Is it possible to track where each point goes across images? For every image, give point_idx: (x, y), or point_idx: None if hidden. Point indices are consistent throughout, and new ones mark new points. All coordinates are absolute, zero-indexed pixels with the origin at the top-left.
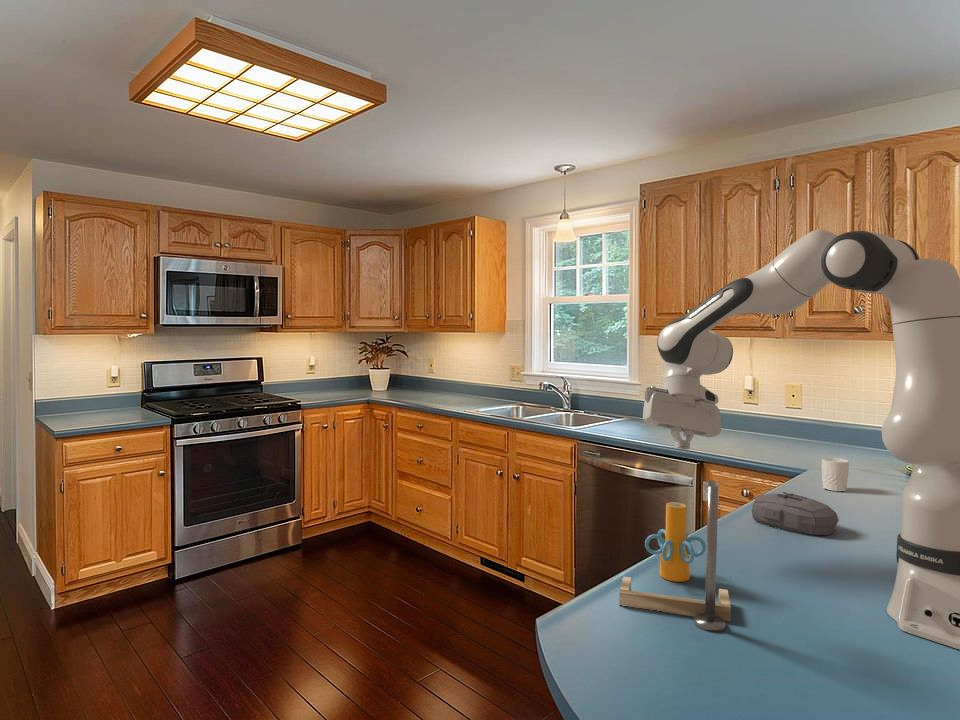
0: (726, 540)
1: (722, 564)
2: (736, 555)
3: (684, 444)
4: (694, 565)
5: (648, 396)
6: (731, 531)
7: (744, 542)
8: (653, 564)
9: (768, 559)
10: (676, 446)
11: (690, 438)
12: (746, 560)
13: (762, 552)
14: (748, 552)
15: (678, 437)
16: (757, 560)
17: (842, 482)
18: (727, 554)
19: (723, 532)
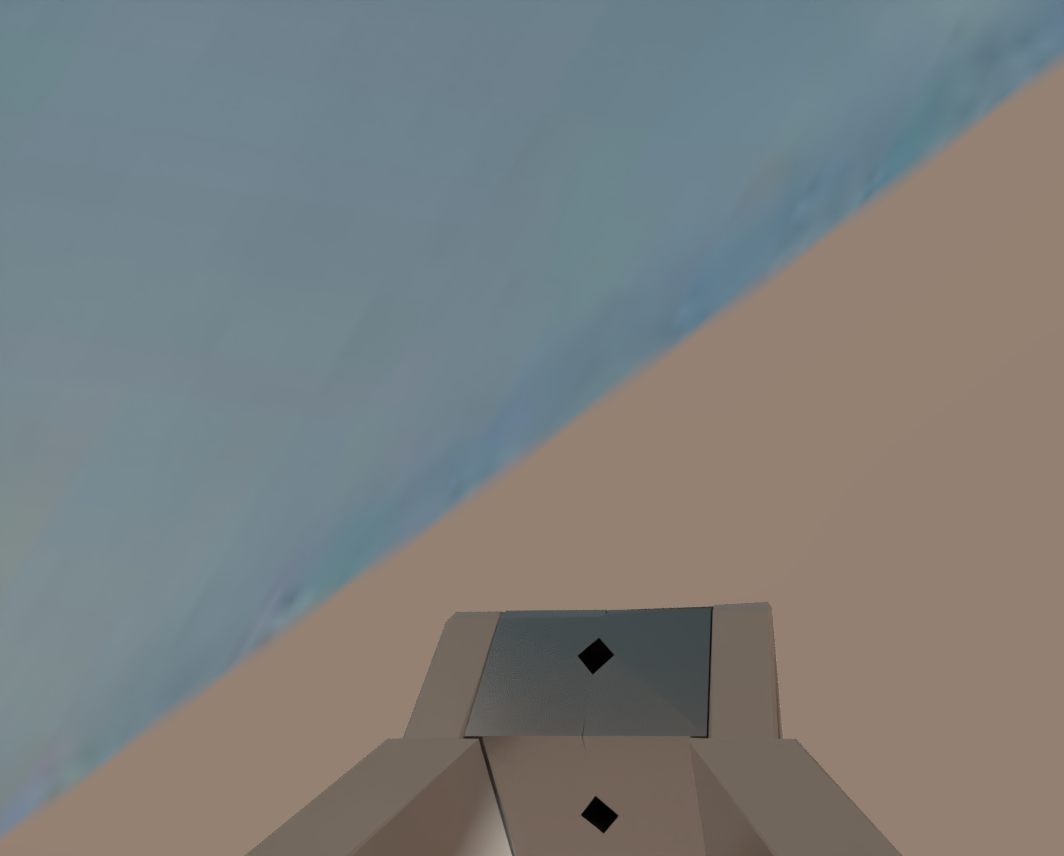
0: (157, 463)
1: (461, 2)
2: (260, 155)
3: (615, 641)
4: (668, 16)
5: None
6: (8, 644)
7: (47, 402)
8: (943, 81)
9: (76, 42)
10: (780, 712)
11: (358, 805)
12: (246, 49)
13: (36, 183)
14: (138, 199)
15: (830, 782)
16: (167, 36)
17: None
18: (314, 185)
19: (82, 632)
